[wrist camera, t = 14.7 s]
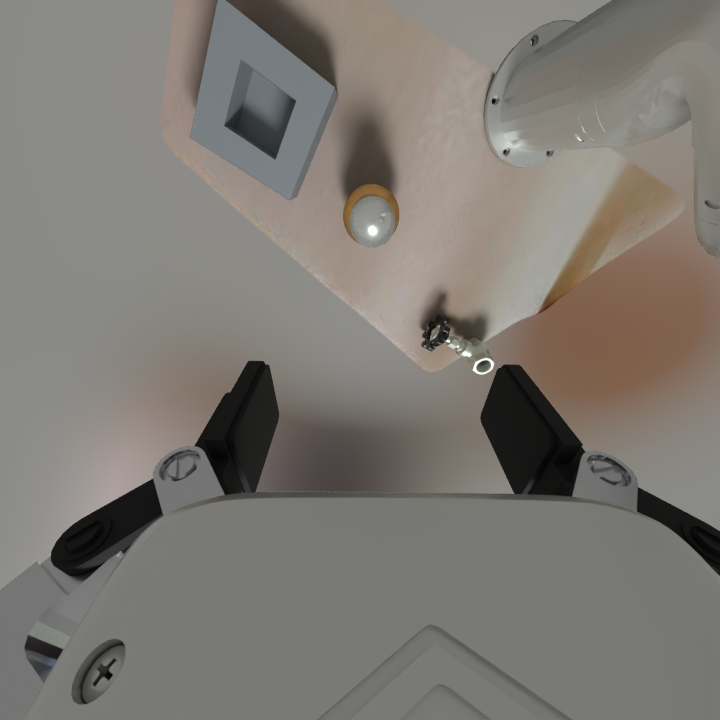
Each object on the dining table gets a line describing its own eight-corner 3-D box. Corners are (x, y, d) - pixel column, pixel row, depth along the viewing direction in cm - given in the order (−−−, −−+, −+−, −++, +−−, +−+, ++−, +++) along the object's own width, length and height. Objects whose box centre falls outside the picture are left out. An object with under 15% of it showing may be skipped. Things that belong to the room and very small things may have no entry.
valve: (492, 337, 52) (440, 307, 49) (507, 357, 47) (450, 325, 44) (467, 362, 56) (418, 336, 52) (479, 384, 50) (424, 356, 47)
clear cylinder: (397, 182, 38) (407, 187, 30) (393, 238, 43) (401, 256, 35) (344, 181, 38) (339, 186, 30) (345, 238, 43) (342, 256, 35)
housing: (238, 17, 30) (218, -6, 26) (337, 96, 34) (334, 87, 29) (209, 140, 36) (189, 137, 32) (296, 196, 39) (289, 200, 35)
